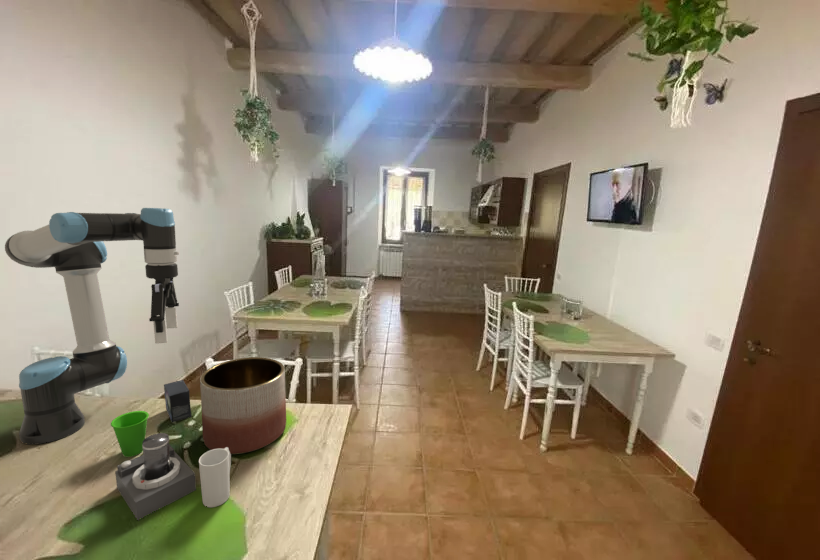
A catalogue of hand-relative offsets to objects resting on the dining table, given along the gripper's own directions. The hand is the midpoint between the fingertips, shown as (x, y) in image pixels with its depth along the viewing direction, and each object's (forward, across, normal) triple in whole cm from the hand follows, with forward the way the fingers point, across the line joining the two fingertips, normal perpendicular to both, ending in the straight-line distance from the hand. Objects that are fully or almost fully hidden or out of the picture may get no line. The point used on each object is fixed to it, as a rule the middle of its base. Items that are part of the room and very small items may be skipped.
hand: (167, 335), depth 106 cm
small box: (+37, +21, +3) cm, 43 cm away
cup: (+37, +2, +11) cm, 39 cm away
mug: (+37, -25, -14) cm, 47 cm away
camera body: (+37, -18, +1) cm, 41 cm away
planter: (+37, +1, -20) cm, 42 cm away
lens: (+32, -19, 0) cm, 37 cm away
